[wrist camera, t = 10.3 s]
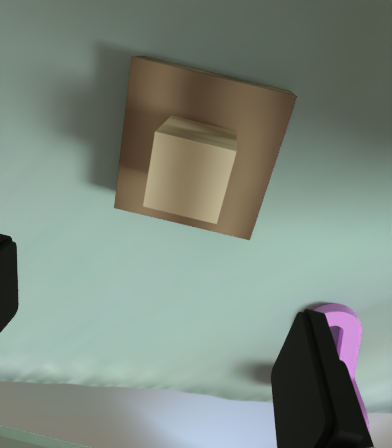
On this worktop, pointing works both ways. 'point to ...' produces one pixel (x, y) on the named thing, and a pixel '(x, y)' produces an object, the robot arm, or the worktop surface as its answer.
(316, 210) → the worktop surface
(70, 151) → the worktop surface
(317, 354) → the robot arm
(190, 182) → the maple block
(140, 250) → the worktop surface
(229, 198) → the base block
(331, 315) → the bracket
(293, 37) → the worktop surface
